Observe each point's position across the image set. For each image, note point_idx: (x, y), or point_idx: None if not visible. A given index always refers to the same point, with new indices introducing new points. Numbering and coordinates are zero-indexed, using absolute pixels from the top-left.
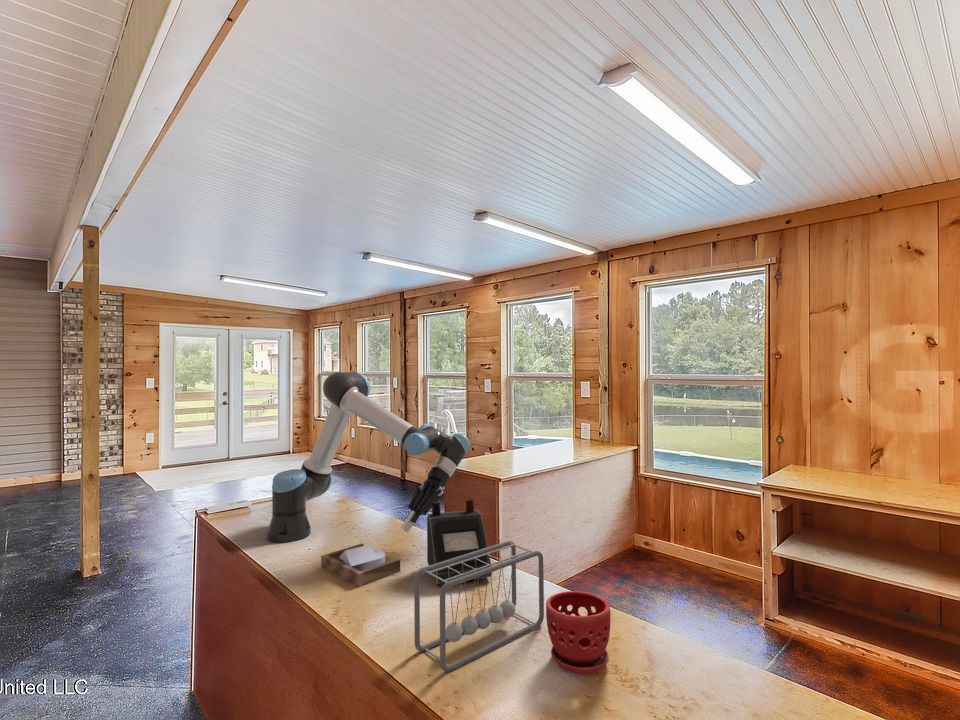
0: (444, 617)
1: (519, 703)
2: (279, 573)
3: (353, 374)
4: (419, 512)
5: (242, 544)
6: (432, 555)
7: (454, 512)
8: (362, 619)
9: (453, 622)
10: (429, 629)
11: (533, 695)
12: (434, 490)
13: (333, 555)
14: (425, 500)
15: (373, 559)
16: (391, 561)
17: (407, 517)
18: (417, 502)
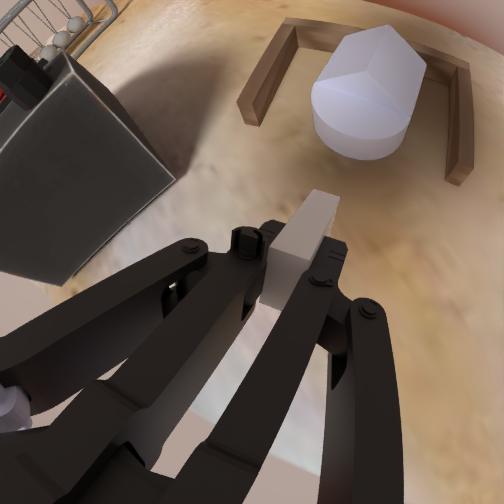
0: None
1: (48, 41)
2: (486, 50)
3: None
4: (220, 255)
5: None
6: (110, 96)
7: None
8: (208, 2)
9: (71, 18)
10: (113, 37)
11: (39, 51)
12: (22, 430)
13: (456, 78)
14: (155, 339)
15: (321, 74)
16: (255, 82)
17: (322, 226)
18: (273, 330)
